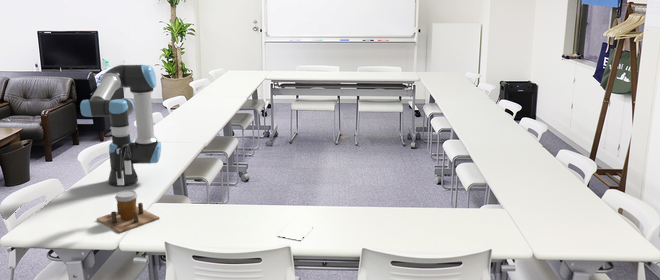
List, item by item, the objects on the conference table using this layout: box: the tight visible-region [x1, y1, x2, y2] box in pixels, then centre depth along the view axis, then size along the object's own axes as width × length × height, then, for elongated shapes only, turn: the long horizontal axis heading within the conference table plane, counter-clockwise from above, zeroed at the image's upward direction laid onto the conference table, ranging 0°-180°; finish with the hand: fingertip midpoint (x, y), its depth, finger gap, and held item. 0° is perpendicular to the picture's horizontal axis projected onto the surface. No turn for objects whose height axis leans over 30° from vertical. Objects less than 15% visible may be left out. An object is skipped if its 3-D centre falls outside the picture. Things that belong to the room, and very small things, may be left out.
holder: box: [96, 202, 160, 234], centre depth 254 cm, size 20×20×6 cm
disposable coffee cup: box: [114, 189, 138, 220], centre depth 253 cm, size 10×10×12 cm
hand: (124, 179), depth 249 cm, fingers open, 13 cm apart
